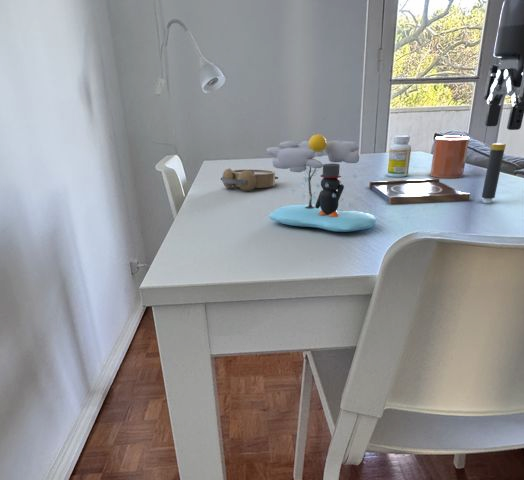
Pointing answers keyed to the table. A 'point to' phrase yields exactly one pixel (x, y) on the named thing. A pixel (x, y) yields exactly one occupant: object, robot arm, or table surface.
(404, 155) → the supplement bottle
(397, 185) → the brown square panel
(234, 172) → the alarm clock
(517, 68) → the robot arm
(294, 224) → the penguin figurine
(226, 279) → the table surface
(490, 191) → the marker
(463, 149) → the pen cup
